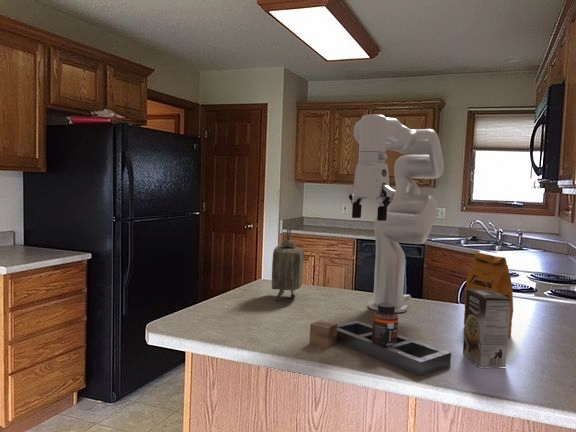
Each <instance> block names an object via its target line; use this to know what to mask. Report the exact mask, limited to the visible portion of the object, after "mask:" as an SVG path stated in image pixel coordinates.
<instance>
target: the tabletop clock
mask: <svg viewBox="0 0 576 432" xmlns="http://www.w3.org/2000/svg"><path fill="white" fill-rule="evenodd" d="M286 229H287V231H286V239H284V240H283V241H281V244H280V245H277V246H275V247H274V249H273V252H272V263H271V266H272V267H271V289H272V290H279V291H278V293H277V295H275V297H274V301H276V302H279V301H280V296H281V295H283V294H285V291H290V293H291V294H290V298H291V299H292V300H293V299H295V298H296V294H294V292H295V291H296V290H298V289H301V287H302V284H303V279H304V258H305V257H304V255H305V253H304V252H305V249H303V248H300V247H298V246H297V245H296V243H295V241H294V240H292V239H291V234H292V233H291V232H292V229H291V225H290V226H288V227H287V228H286Z"/></svg>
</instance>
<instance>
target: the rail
mask: <svg viewBox="0 0 576 432" xmlns="http://www.w3.org/2000/svg"><path fill="white" fill-rule="evenodd" d="M337 324H338V325H337V343H338V344H341V345H343V346H346V347H348V348H351V349H353V350H355V351H357V352H360V353H362V354H365V355H368V356H370V357H372V358H375V359H378V360H379V361H382V362H384V363H386V364H390V365H391V366H394V367H396V368H398V369H402V370H404V371H406V372H409V373H410V374H411V373H412V374H414V375H416V376H419V377H422V376H425V375H428V374H430V373H433V372H436V371H438V370H442V369H444V368H448V367H450V366H451V359H452V352H450V351H447V350H445V349H442V348H439V347H436V346H433V345H431V344H427V343H425V342H421V341H418V340H415V339H412V338H409V337H407V336H404V335H401V334H398V333H397V343H396V344H392V345H388V346H386V345H383V344H380V343H378V342H375V341H372V329H373V324H368V323H366V322H363V321H359V320H353V321H349V322H348V321H347V322H344V323H337Z"/></svg>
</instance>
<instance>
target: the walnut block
mask: <svg viewBox="0 0 576 432" xmlns="http://www.w3.org/2000/svg"><path fill="white" fill-rule="evenodd" d="M338 324H339V323H337V322H332V321H327V320H322V319H319V320H317V321H314V322H312V323H310V324H309V325H310V327H309V328H310V329H309V344H310V345H314V346H317V347H322V348H326V349H328V348H330V347H332V346H333V345H335V344H337V343H338V342H337V325H338Z"/></svg>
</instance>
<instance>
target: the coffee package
mask: <svg viewBox="0 0 576 432" xmlns="http://www.w3.org/2000/svg"><path fill="white" fill-rule="evenodd" d="M473 255H474V256H473V257H474V258H475V259H474V262H473V264H472V266H471V268H470V270H469V272H468V274H467V276H466V278H465V295H464V298H465V300H464V310H465V309H466V293H467V290H466V289H484V290H493V291H495V292H497V293H499V294H502V295H504V296H506V297H508V298H511V308H510V320H509V332H508V338H509V337H512V327H513V326H512V324H513V316H514V297H513V296H514V295H513V293H514V291H513V283H512V279H511V274H510V269H509V266H508V263H507V260H506V257H503V256H496V255H492V254H487V253H483V252H479V251H477V252H475V253H474V254H473ZM463 316H464V318H463V319H464V320H463V325H464V326H465V311H464V313H463Z"/></svg>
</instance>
